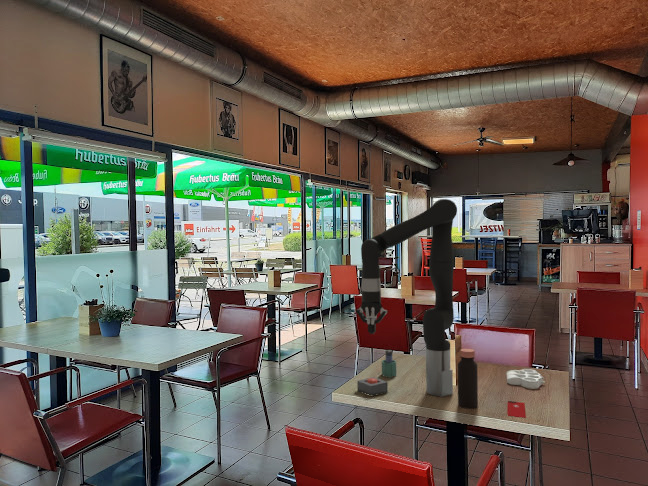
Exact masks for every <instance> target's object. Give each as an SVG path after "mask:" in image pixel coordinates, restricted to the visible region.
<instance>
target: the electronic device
mask: <svg viewBox="0 0 648 486" xmlns="http://www.w3.org/2000/svg"><path fill="white" fill-rule="evenodd" d="M506 408H507V409H506V410H507V413H506V415H508V416H507V417H513V416H514V417H515V418H521V419H522V418H523V419H526V418H527V416H526V414H527V413H526V403H525V402H518V401H512V400H511V401H510V400H507V407H506Z"/></svg>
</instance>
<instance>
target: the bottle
mask: <svg viewBox="0 0 648 486" xmlns="http://www.w3.org/2000/svg"><path fill="white" fill-rule="evenodd" d="M459 353H460V354H459V356H460V361H459V362H457V404H458V406H459V407H461V408H464V409H467V410H469V409H472V410H473V409H476V408H477V407H478V405H479V402H478V400H479V397H478V395H479V392H478V386H479V385H478V383H479V382H478V381H479V379H478V363H477V362H476V361H475V360H474V359H475V355H476V354H475V353H476V352H475V349H472V348H461V349H460V350H459Z"/></svg>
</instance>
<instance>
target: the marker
mask: <svg viewBox="0 0 648 486" xmlns="http://www.w3.org/2000/svg"><path fill="white" fill-rule="evenodd" d="M384 355H385V360H386V363H392V360H393V350H392V349H387V350H385V354H384Z"/></svg>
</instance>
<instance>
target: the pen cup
mask: <svg viewBox="0 0 648 486" xmlns="http://www.w3.org/2000/svg"><path fill="white" fill-rule="evenodd" d="M382 375H384V376H383V377H385V376H387V377H386V378H393V377H392V376H395V377H397V360H395V359H392V363H386V359H384V360H383V359H382V361H381V376H382Z"/></svg>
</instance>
